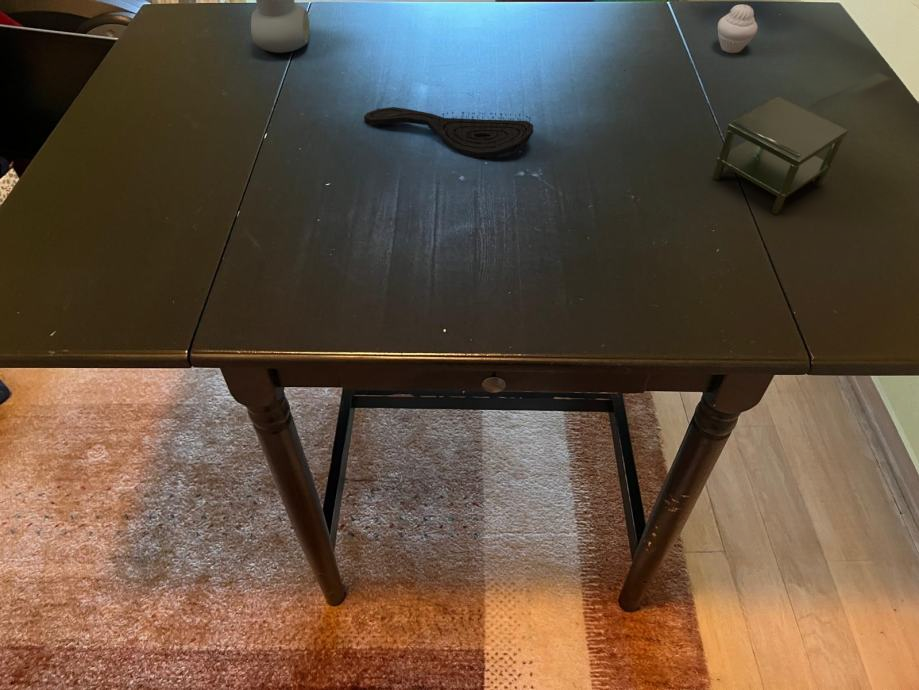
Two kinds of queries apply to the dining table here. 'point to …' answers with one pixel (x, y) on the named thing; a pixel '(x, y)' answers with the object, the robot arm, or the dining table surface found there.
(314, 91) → the dining table surface
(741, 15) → the muffin
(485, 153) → the hairbrush
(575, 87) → the dining table surface
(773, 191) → the side table
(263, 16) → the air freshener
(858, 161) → the dining table surface
